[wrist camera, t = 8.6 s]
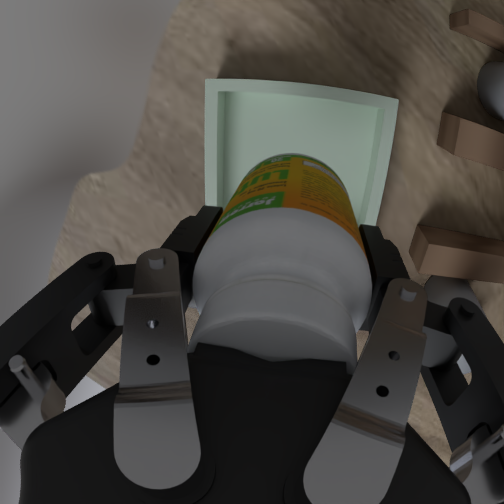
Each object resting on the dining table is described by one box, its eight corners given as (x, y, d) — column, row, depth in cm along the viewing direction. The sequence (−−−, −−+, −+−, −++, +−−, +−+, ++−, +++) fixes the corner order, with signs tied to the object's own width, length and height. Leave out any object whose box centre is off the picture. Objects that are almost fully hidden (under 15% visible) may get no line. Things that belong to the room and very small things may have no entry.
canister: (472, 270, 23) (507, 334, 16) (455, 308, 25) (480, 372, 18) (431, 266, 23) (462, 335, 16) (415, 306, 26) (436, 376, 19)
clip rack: (544, 63, 12) (566, 67, 9) (465, 325, 26) (473, 346, 23) (449, 14, 13) (468, 8, 10) (382, 320, 27) (387, 344, 25)
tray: (388, 96, 17) (398, 99, 15) (360, 245, 23) (365, 263, 21) (216, 78, 19) (205, 78, 16) (215, 228, 25) (206, 243, 23)
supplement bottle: (287, 126, 13) (253, 225, 5) (371, 205, 14) (430, 374, 6) (216, 207, 15) (124, 361, 7) (295, 270, 17) (276, 442, 9)
